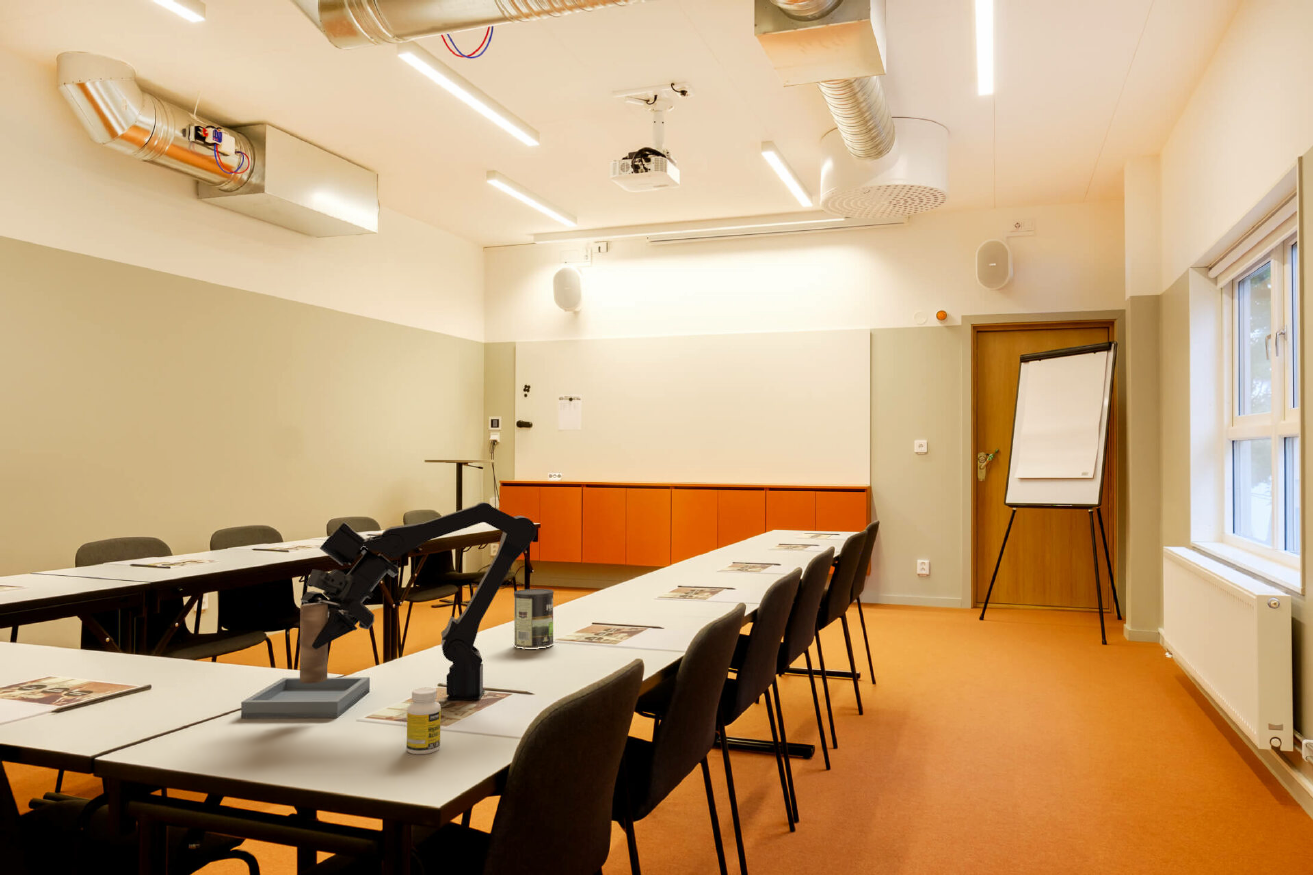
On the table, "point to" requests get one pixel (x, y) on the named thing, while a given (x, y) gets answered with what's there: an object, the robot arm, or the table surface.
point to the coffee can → (533, 618)
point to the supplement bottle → (423, 722)
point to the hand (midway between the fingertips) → (306, 645)
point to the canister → (310, 658)
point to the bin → (306, 698)
